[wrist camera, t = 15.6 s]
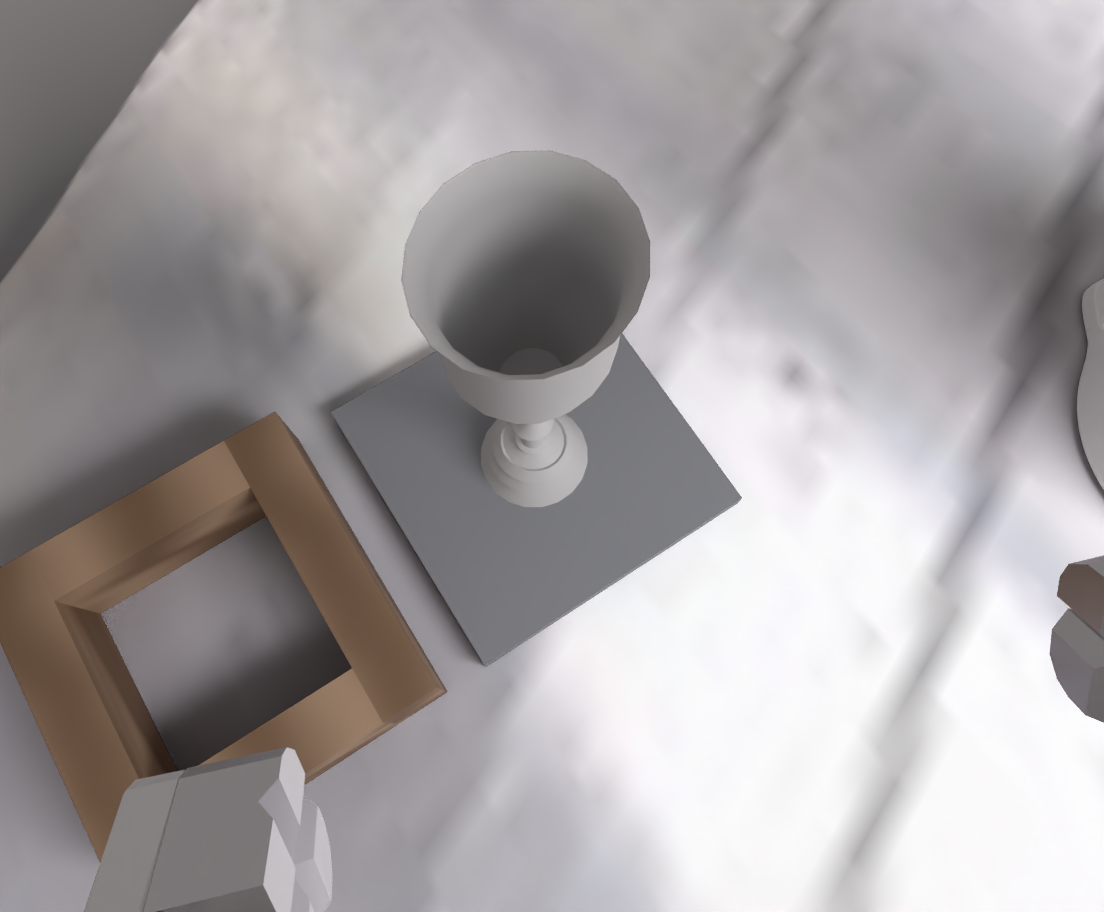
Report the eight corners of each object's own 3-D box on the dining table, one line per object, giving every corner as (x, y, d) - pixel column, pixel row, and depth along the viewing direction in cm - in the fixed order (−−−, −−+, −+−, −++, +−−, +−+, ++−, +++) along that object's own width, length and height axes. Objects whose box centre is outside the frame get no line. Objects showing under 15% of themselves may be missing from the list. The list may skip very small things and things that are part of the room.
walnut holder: (299, 440, 43) (274, 411, 39) (447, 692, 40) (436, 687, 36) (26, 597, 41) (-27, 583, 37) (159, 879, 37) (115, 895, 33)
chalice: (506, 360, 43) (481, 114, 26) (632, 421, 42) (693, 207, 25) (432, 490, 41) (352, 316, 24) (563, 556, 40) (577, 424, 23)
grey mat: (575, 280, 46) (576, 270, 45) (737, 503, 42) (741, 498, 41) (335, 419, 43) (330, 412, 42) (485, 666, 40) (484, 665, 39)
